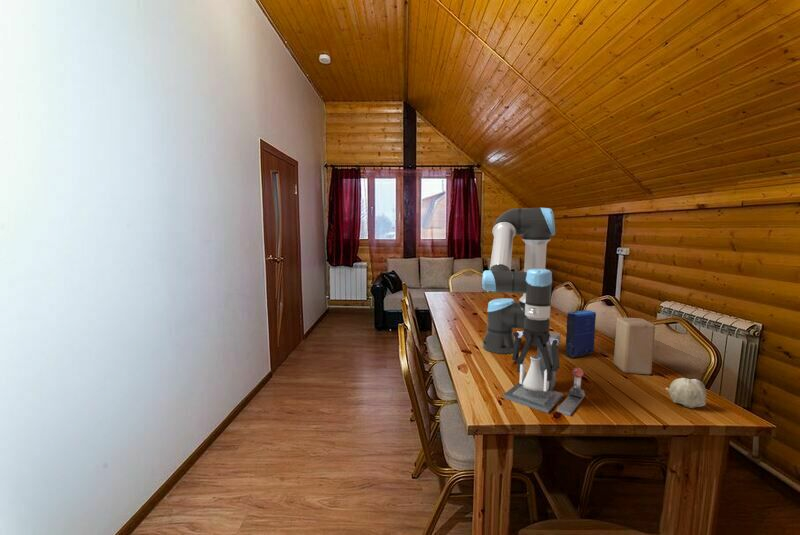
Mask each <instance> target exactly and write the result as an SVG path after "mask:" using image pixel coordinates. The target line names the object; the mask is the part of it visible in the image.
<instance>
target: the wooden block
mask: <svg viewBox="0 0 800 535" xmlns="http://www.w3.org/2000/svg"><path fill="white" fill-rule="evenodd" d="M655 332H656V325H655V323H653V322H650V321H648V320H646V319H644V318H641V317H637V318H636V317H621V316H620V317H617V318H616V325H615V340H614V350H613V351H614V355H613V364H614V365H615V366H616V367H617V368H618V369H619V370H620V371H622V372H623V373H625V374H637V375H638V374H640V375H651V374H652V370H653V358H654V345H655V334H656V333H655Z"/></svg>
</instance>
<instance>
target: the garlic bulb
mask: <svg viewBox="0 0 800 535" xmlns="http://www.w3.org/2000/svg"><path fill="white" fill-rule="evenodd" d="M665 390H666V392H669V396H670V399H672V401H673V403H676V404H680V405H682V406H684V407H685V408H688V409H694V408H700V407H703V406H705V405H706V404H707V403H706V399H707V389H706V387H705V384H704V383H703V382H702V381H701V380H698V379H696V378H693V379H692V378H691V379H690V378H686V377H680V378H679V377H678V378H675V379H673V381H672V382H671V383H670V385H669V388H668V387H665Z"/></svg>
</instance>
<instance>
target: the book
mask: <svg viewBox="0 0 800 535" xmlns="http://www.w3.org/2000/svg"><path fill="white" fill-rule="evenodd" d="M596 317H597V312H596V311H592V310H587V309H585V310H577V311H569V312H567V316H566V333H565V334H566V336H565V338H566V339H565V349H564V350H565V351H564V355H565V356H567V357H568V358H578V357H584V356H587V355H591V354H593V353H594V352H595V338H596V337H595V335H596V334H595V333H596V332H595V330H596Z"/></svg>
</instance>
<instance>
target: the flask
mask: <svg viewBox="0 0 800 535" xmlns="http://www.w3.org/2000/svg"><path fill="white" fill-rule="evenodd" d="M529 358H530V364H529V368H528V371H527V373H526V374H525V379H524V381H523V383H522V385H523V386H524V387H525V388H526V389H530V390H533V391H543V389H544V380H543V377H542V374H541V371H540V364H539V363H540V359H541V358H540V357H539V356H537V355H530V357H529Z"/></svg>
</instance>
